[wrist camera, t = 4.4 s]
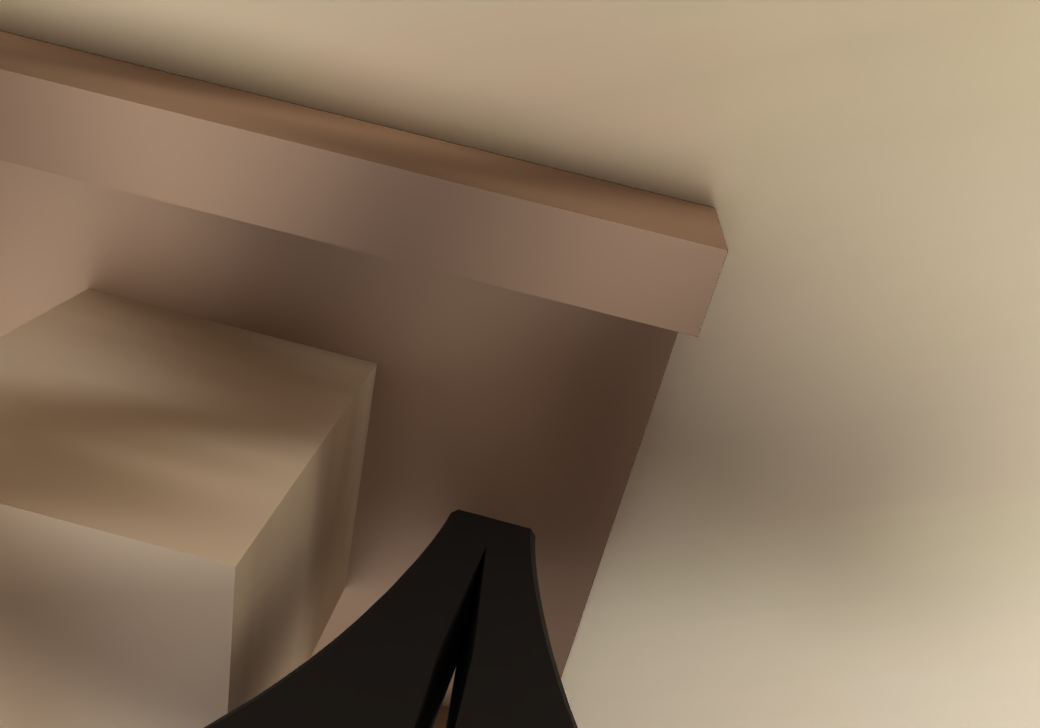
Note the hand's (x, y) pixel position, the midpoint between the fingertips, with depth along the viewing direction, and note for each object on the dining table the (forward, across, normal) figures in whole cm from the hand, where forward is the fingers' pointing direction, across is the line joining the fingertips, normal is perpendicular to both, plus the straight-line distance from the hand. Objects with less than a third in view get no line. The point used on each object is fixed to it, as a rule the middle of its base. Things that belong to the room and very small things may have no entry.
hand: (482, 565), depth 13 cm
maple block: (+1, +5, 0) cm, 5 cm away
